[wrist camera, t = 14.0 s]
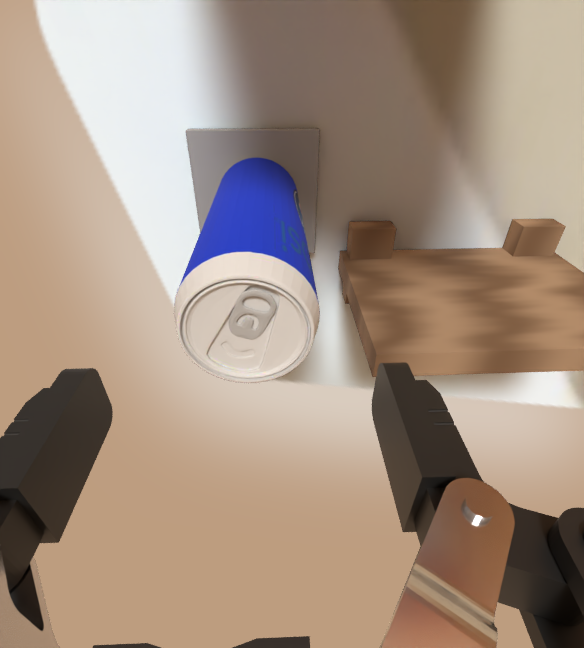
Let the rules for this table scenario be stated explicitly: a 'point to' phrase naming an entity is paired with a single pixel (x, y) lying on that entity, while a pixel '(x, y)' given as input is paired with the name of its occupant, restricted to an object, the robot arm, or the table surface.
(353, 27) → the table surface
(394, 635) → the robot arm
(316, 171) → the slate mat
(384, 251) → the walnut screen
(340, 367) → the table surface
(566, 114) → the table surface
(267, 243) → the beverage can
